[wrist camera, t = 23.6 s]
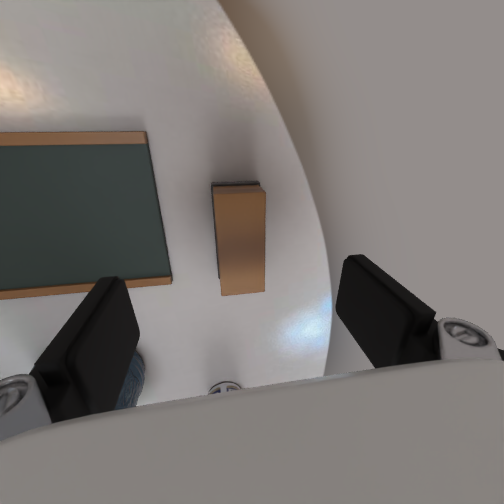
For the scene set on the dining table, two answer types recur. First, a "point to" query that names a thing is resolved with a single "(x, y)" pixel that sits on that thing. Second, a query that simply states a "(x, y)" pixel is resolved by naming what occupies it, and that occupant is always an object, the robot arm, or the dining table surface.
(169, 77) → the dining table surface
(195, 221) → the dining table surface
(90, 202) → the board
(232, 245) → the eraser
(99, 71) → the dining table surface
